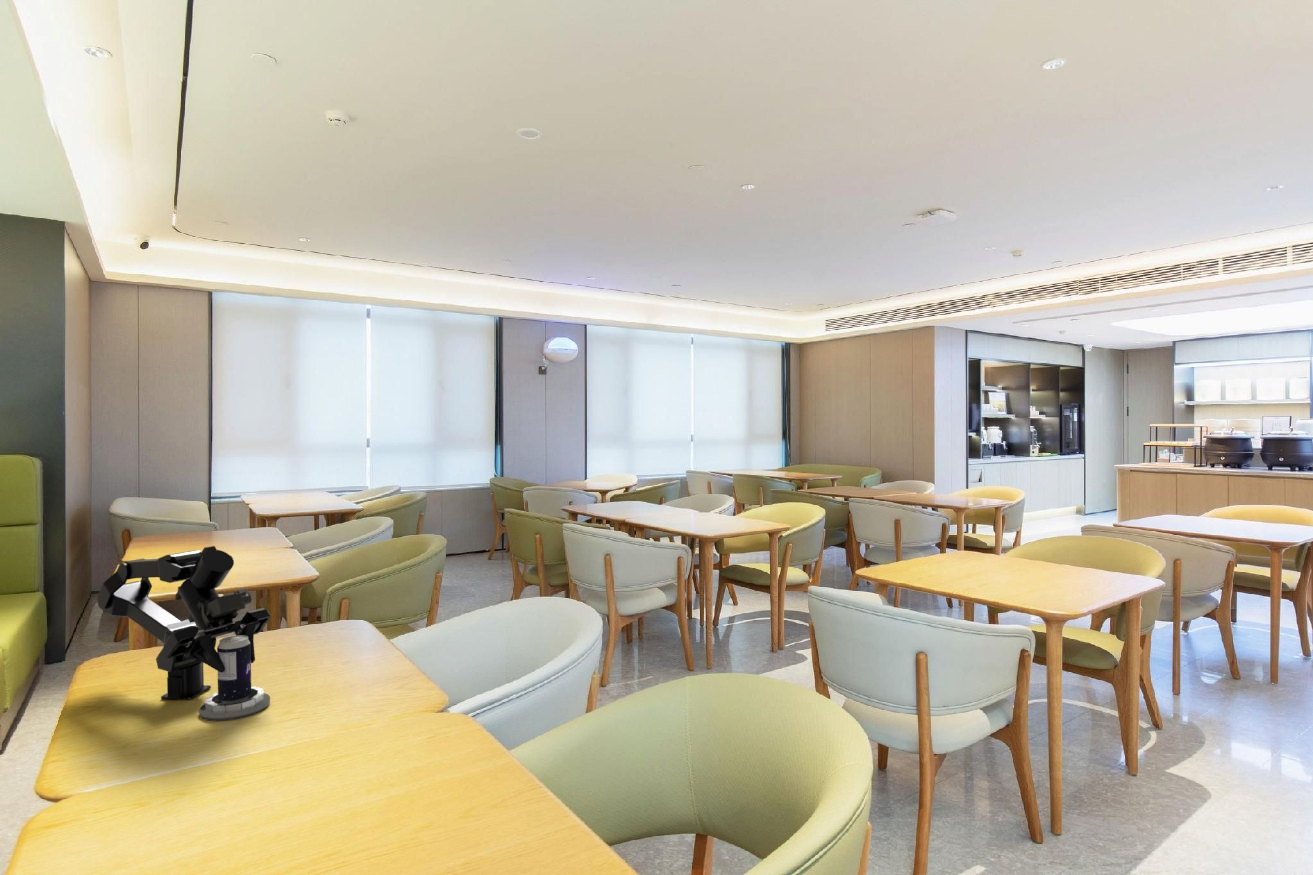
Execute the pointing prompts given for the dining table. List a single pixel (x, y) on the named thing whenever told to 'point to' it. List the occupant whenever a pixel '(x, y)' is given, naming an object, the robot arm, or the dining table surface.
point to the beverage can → (234, 669)
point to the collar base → (236, 714)
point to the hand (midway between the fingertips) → (238, 666)
